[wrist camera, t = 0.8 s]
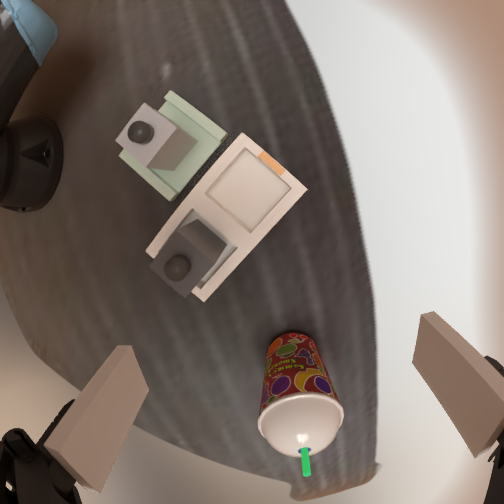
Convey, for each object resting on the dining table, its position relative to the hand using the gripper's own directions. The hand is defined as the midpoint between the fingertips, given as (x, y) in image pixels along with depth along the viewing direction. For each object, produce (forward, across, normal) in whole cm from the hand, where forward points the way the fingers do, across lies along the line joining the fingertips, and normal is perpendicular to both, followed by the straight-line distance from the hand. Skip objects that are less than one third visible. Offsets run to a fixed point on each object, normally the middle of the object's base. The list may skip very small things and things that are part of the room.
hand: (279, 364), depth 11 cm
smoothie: (+22, +2, -15) cm, 27 cm away
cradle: (+23, -10, +13) cm, 28 cm away
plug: (+22, -10, +13) cm, 28 cm away
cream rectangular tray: (+22, -5, +4) cm, 23 cm away
